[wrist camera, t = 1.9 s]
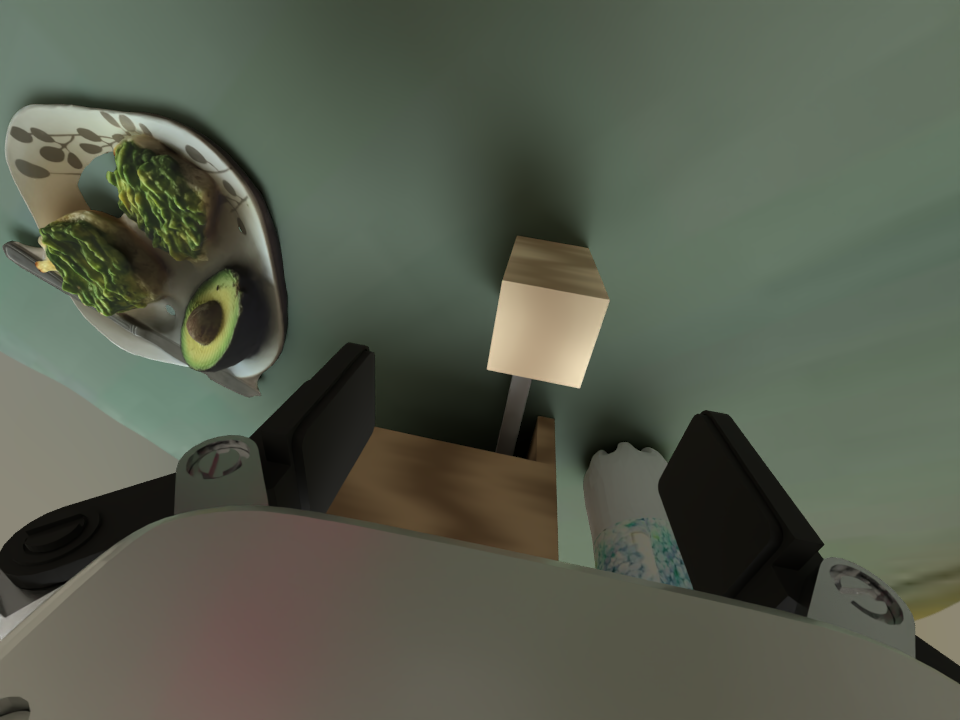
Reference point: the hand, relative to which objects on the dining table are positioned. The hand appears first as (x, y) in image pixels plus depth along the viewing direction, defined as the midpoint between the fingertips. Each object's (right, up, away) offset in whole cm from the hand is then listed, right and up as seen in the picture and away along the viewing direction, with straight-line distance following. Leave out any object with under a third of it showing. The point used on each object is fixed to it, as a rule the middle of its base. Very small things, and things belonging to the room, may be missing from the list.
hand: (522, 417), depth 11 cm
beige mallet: (+1, -2, +16) cm, 16 cm away
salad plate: (-21, +8, +15) cm, 27 cm away
